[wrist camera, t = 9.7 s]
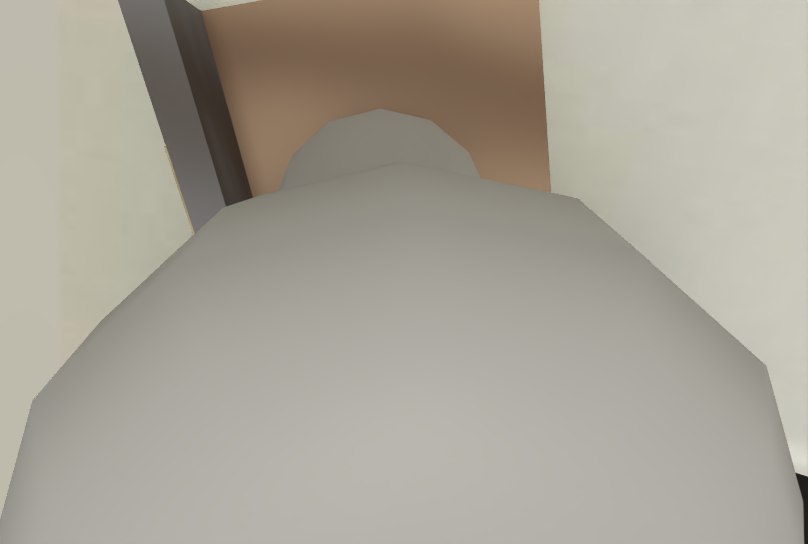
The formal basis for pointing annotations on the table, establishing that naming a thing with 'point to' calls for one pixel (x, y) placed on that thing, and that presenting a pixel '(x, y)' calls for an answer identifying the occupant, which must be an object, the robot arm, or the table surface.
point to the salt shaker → (405, 377)
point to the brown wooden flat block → (336, 84)
